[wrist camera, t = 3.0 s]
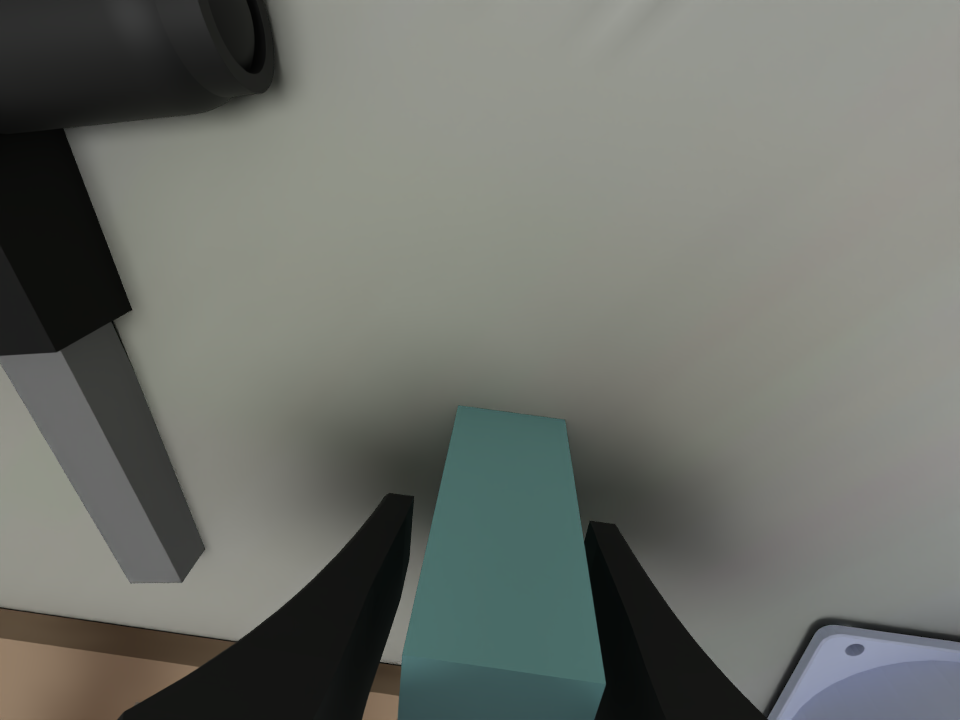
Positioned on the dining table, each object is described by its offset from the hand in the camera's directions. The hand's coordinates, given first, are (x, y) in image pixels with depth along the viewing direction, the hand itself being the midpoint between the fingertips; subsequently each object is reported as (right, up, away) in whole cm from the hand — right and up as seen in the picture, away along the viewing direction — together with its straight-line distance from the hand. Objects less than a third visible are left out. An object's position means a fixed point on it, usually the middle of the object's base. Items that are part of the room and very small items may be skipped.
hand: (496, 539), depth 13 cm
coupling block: (0, +1, +2) cm, 2 cm away
